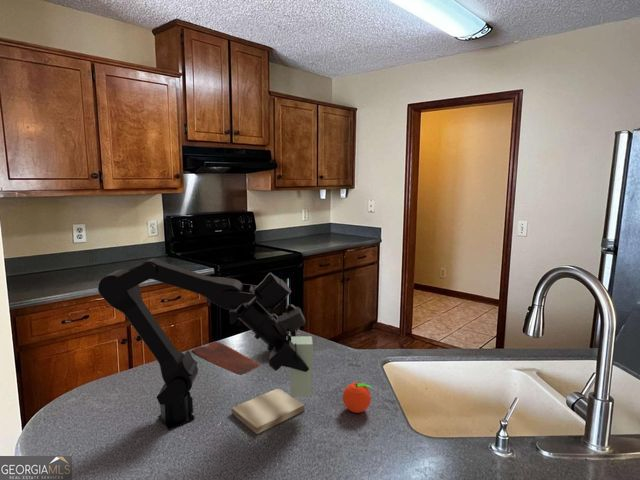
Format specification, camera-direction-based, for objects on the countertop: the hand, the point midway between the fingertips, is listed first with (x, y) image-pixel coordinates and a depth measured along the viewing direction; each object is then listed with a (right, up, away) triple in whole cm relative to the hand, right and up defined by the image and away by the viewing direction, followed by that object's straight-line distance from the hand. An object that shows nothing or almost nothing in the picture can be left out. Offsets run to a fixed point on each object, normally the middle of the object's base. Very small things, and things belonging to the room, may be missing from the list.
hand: (306, 365), depth 98 cm
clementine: (+13, -12, +3) cm, 18 cm away
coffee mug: (-7, -7, +42) cm, 43 cm away
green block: (-1, -7, +1) cm, 7 cm away
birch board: (-10, -12, +2) cm, 16 cm away
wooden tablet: (-27, -9, +33) cm, 43 cm away
